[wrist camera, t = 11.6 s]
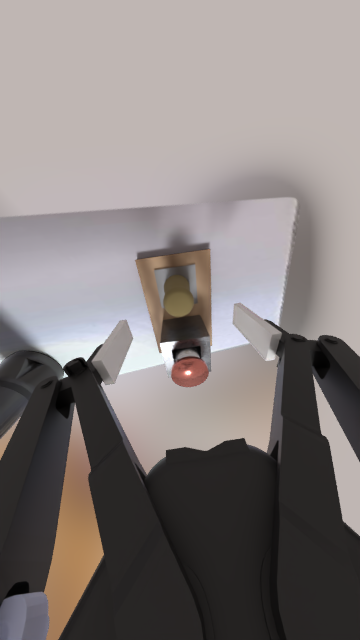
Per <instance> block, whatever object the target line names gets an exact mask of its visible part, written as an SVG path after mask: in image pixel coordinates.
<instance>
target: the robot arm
mask: <svg viewBox="0 0 360 640" xmlns="http://www.w3.org/2000/svg"><path fill="white" fill-rule="evenodd" d="M233 324H234V326H235V327H236V328H237V329H238V330H239V331H240V332H241V333H242V335H243V336H244V337H245V338H246V339H247V340H248V341H249V342H250V344H251V345H252V346H253V347H254V348H255V349H256V350H257V352H258V353H259V354H260V355H261V356H262V357H263V358H264V359H265V360H266V361H268V360H274V359H275V356H276V354H277V355H278V356H279V361H278V364H277V367H278V370H277V379H276V388H275V397H274V406H273V415H272V423H271V432H270V441H269V445H268V450H267V453H266V452H264V451H262V450H260V449H258V448H256V447H254V446H251V445H247V444H246V441H245V439H244V438H242V439H235V440H229V441H224V442H223V443H221V444H219V445H217V446H215V447H214V448H212V449H210V450H208V451H202V450H196V449H192V448H186V447H184V448H177V449H171V450H166V457H165V458H163V459H162V460H160V461H159V462H158V463H157V464H156V465H155V466H154V467H153V468H152V469H151V470H150V472H149V473H148V475H147V474H146V472H145V471H144V469H143V467H142V465H141V464H140V462H139V460H138V458H137V456H136V454H135V452H134V450H133V448H132V446H131V444H130V442H129V440H128V438H127V436H126V434H125V432H124V430H123V428H122V426H121V424H120V422H119V420H118V418H117V416H116V414H115V412H114V410H113V408H112V406H111V404H110V402H109V400H108V398H107V396H106V394H105V392H104V390H103V388H102V386H101V383H102V381H103V382H104V383H105V385H110V384H114V383H115V381H116V379H117V376H118V374H119V371H120V369H121V367H122V364H123V362H124V359H125V357H126V354H127V352H128V349H129V347H130V345H131V342H132V340H133V337H132V334H131V331H130V328H129V326H128V323H127V320H121V321H119V323H118V324H117V326H116V327H115V329H114V330H113V331H112V333H111V334H110V336H109V337H108V339H107V340H106V341H105V343H104V344H101V345H100V346H98V347H97V348H96V350H95V351H94V352H93V354H92V356H90V358H89V359H88V360H87V362H86V361H85V360H84V358H81V357H80V358H76V359H73V360H71V361H70V362H68V363H67V364H66V365H65V366H64V367H63V369H62V368H61V366H60V365H59V364H58V363H57V362H56V361H55V360H53V359H52V358H50V357H48V356H46V355H44V354H41V353H38V352H33V351H19V352H16V353H13V354H12V355H10V356H9V357H7V358H6V359H4V360H3V361H2V362H1V364H0V439H1V438H2V437H3V436H4V435H5V434H6V432H7V431H8V430H9V429H10V428H11V427H12V426H13V425H14V423H15V422H16V421H17V420H18V419H19V418H20V417H21V418H20V420H19V422H18V424H17V427H16V429H15V431H14V433H13V435H12V437H11V439H10V441H9V443H8V445H7V448H6V450H5V452H4V454H3V456H2V458H1V460H0V640H46V636H47V632H48V629H49V616H48V600H47V597H46V595H45V594H44V589H45V586H46V582H47V578H48V573H49V569H50V565H51V561H52V555H53V550H54V544H55V538H56V530H57V524H58V517H59V510H60V503H61V496H62V489H63V482H64V474H65V468H66V461H67V453H68V447H69V440H70V433H71V426H72V419H73V411H74V405H75V404H76V408H77V412H78V416H79V420H80V425H81V429H82V433H83V437H84V441H85V445H86V450H87V453H88V458H89V462H90V466H91V472H90V473H89V477H88V480H89V486H90V491H91V495H92V500H93V504H94V509H95V514H96V518H97V523H98V528H99V533H100V537H101V542H102V546H103V551H104V556H103V558H102V559H101V561H100V563H99V565H98V567H97V569H96V570H95V572H94V574H93V576H92V578H91V580H90V582H89V584H88V585H87V587H86V589H85V591H84V593H83V595H82V597H81V599H80V600H79V602H78V604H77V606H76V608H75V610H74V612H73V613H72V615H71V617H70V619H69V621H68V623H67V625H66V627H65V628H64V630H63V632H62V634H61V636H60V638H59V639H58V640H360V536H359V535H358V534H357V533H356V532H354V531H353V530H352V529H351V528H350V527H349V526H348V525H347V524H346V523H344V522H343V520H342V514H341V508H340V503H339V497H338V491H337V485H336V480H335V474H334V468H333V462H332V456H331V451H330V446H329V442H328V440H327V438H326V437H325V436H323V435H322V434H321V430H320V423H319V416H318V408H317V401H316V394H315V387H314V380H313V375H314V377H315V379H316V380H317V382H318V384H319V386H320V388H321V390H322V392H323V394H324V395H325V397H326V399H327V401H328V402H329V405H330V407H331V409H332V411H333V412H334V414H335V416H336V418H337V420H338V422H339V424H340V426H341V427H342V429H343V431H344V433H345V435H346V437H347V439H348V441H349V442H350V444H351V446H352V448H353V450H354V452H355V454H356V456H357V457H358V459H359V461H360V357H359V356H358V355H357V354H356V353H355V352H354V351H353V350H352V349H351V348H350V347H349V346H348V345H347V344H346V343H345V342H344V341H342V340H341V339H339V338H337V337H333V336H328V335H322V336H320V337H319V338H318V340H317V341H316V340H307V339H306V338H305V337H303V336H300V335H297V334H289V333H287V332H286V331H284V330H283V329H282V328H280V327H279V326H277V325H275V324H274V323H273V322H271V321H269V320H266V319H265V320H263V319H262V318H261V317H259V316H258V315H256V314H255V313H254V312H252V311H251V310H249V309H248V308H247V307H245V306H244V305H243V304H241V303H236V304H234V312H233ZM63 370H64V371H65V373H66V374H67V375H68V377H66V378H63V375H64V373H63ZM62 378H63V379H62Z"/></svg>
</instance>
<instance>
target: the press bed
mask: <svg viewBox="0 0 360 640" xmlns="http://www.w3.org/2000/svg"><path fill="white" fill-rule="evenodd" d="M135 261H136V265H137V269H138V273H139V276H140V280H141V284H142V288H143V292H144V295H145V299H146V303H147V307H148V311H149V314H150V318H151V322H152V326H153V330H154V333H155V337H156V341H157V345H158V349H159V352H160V353H162V350H161V346H160V339H161V330H162V321H163V320H166V319H173V318H180V317H175V316H172V315H170V314H169V313H168V312H167V311H166V310H165V307H164V305H163V299H164V295H165V292H164V283H165V281H166V280H167V279H168V278H169V277H170V276H173V275H181V276H183V277H185V278H186V279H187V281H188V282H189V285H190V292H191V293H192V295H193V298H194V305H193V308H192V310H191V311H190V313H188V314H187V315H185V316H182V317H187V316H194V315H200V316H201V318H202V320H203V322H204V324H205V326H206V329H207V331H208V333H209V335H210V346H212V327H211V266H210V249H206V250H199V251H192V252H185V253H178V254H171V255H164V256H157V257H151V258H144V259H137V260H135Z"/></svg>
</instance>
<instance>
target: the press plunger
mask: <svg viewBox="0 0 360 640" xmlns="http://www.w3.org/2000/svg"><path fill="white" fill-rule="evenodd" d="M175 360H176V362H175V363H174V364H173V366H172V369H171V377H172V380H173V381H174V382H175V383H176V384H178V385H179V386H183V387H193V386H197V385H199V384H201V383H203V382H204V381H205V380H206V379H207V377H208V374H209V371H208V368H207V365H206V362H205V361H204V360H203V359H201V358H200V356H199V353H198V349H197V346H195V347H188V348H181V349H175Z"/></svg>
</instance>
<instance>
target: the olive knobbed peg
mask: <svg viewBox="0 0 360 640" xmlns="http://www.w3.org/2000/svg"><path fill="white" fill-rule="evenodd" d="M164 292H165V295H164V299H163V305H164V307H165V310H166V311H167V312H168V313H169V314H170V315H172V316H175V317H182V316H185V315H187V314H188V313H190V311H191V310H192V308H193V305H194V298H193V295H192V293H191V292H190V285H189V282H188V281H187V279H186V278H185V277H183V276H181V275H173V276H170V277H169V278H168V279H167V280H166V281H165V283H164Z"/></svg>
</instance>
